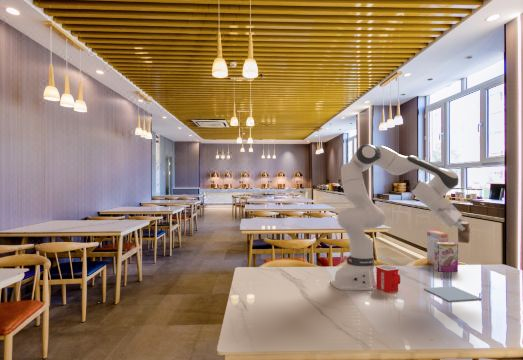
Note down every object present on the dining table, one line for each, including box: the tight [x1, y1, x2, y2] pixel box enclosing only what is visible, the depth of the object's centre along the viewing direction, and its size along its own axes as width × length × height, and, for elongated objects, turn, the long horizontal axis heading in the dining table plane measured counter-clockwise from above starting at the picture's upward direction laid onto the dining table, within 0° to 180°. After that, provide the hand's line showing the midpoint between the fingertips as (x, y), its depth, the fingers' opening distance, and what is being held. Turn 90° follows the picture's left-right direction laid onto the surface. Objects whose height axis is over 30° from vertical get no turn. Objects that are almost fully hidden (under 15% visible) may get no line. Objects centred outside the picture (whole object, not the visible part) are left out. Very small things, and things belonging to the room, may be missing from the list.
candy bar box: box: [433, 242, 459, 273], centre depth 181 cm, size 11×5×16 cm, turn 84°
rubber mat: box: [423, 285, 482, 303], centre depth 143 cm, size 16×16×1 cm
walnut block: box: [457, 221, 471, 244], centre depth 147 cm, size 4×5×9 cm
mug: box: [375, 264, 401, 294], centre depth 148 cm, size 12×8×11 cm
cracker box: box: [426, 229, 449, 266], centre depth 193 cm, size 14×6×21 cm, turn 179°
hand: (465, 228), depth 147 cm, fingers closed on walnut block, 5 cm apart
